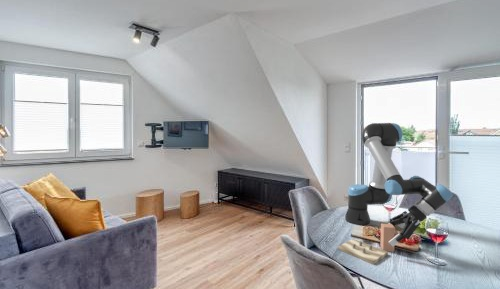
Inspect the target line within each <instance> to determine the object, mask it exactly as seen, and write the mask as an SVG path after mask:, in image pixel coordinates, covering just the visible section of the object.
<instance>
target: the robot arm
mask: <svg viewBox="0 0 500 289" xmlns="http://www.w3.org/2000/svg"><path fill="white" fill-rule="evenodd" d="M403 134H404V133H403V130H402V128H401V126H400V125H399V124H397V123H394V122H379V123H378V122H377V123H375V122H372V123H370V124H368V125H366V126H365V127H364V128H363V130H362V132H361V139H362V140H361V141H362V144H363V145H364V147H365V148H368V151H369V153H370V155H371V156H372V157H373V160H374V168H373V176H372V179H371V181H369V183H368V185H367V184H363V183H362V184H360V183H358V184H352V185H350V186H349V187H348V191H347V195H348V198H347V199H348V200H347V201H348V204H347V205H348V206H347V207H348V208H347V210H346V213H345V218H344V219H345V221H346V222H347V223H350V224H353V225H361V226H363V225H364V224H366V225H369V224H371V218H370V214H369V210H368V206H371V205H386V204H385V203H387V202H389V201H390V202H391V201H392V198H393V196H402V195H403V196H405V195H419V196H421V198H420V199H419V200H417V201H416V202H415V203H414V205H411V206H410V207H408V210H407V211H406V210H405V211H403V212H402V213H399V214H398V215H395V216H394V217H392V218H389V222H388V224H392V225H393V226H394V227H395V228H396V226H397V225H401V224H404V226H403V228H402V230H401V231H400V232H398V234H395V237H394V238H393V239H391V240H390V241H389V243H390V244H391V245H392V246H393V247H394V248H395V246H396V245H397V244H399V243H400V242H401V241H403V240H404V239H405V240H409V239H410V238H411V236H413V234H414V233H415V231H416V230H417V228H418V227H419V226H420V225H421V223H422V222H423V221H424V220H425V219H427V217H430V215H432V214H434V212H436V211H437V210H438V209H439V208H440V207H443V205H445V204H447V203H448V202H449V200H451V199H452V197H453V196H454V194H453V192H452V191H451V190H450V189H449V188H448V187H446V186H444V185H443V184H440V183H439V184H437V185H434V184H432V183H430V182H429V181H428V180H426V179H425V178H424V177H421V176H419V175H413V176H410V177H409V178H408V179H404V178H403V177H402V175H401V173H400V171H399V169H397V166H396V165H395V163H394V162H393V160H392V156H393V149H394V148H396V146H397V143H399V142H400V141H401V140H402V139H403ZM390 202H389V203H390ZM387 204H388V203H387ZM420 222H421V223H420ZM364 226H365V225H364ZM379 231H380V232H381V229H380V230H379Z"/></svg>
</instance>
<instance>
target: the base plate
mask: <svg viewBox="0 0 500 289" xmlns="http://www.w3.org/2000/svg"><path fill="white" fill-rule="evenodd" d="M337 250H338V251H340V252H344V253H346V254H347V255H350V256H352V257H354V258H357V259H359V260H362V261H364V262H367V263H369V264H371V265H375V264H377V263H378V262H380V260H383V259H384V258H386V257H387V256H388V255H389V251H385V250H383V249H382V248H379V247H376V246H373V245H371V244H368V243H366V242H363V241H362V240H358V239H355V238H352V239H350V240H348V241H346V242H344V243H342V244H340V245H338V246H337Z"/></svg>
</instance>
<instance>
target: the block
mask: <svg viewBox="0 0 500 289" xmlns="http://www.w3.org/2000/svg"><path fill="white" fill-rule="evenodd" d="M380 230H381V231H380V243H379V244H380V246H379V247H380V249H382V250H385V251H387V252H395V246H394V247H393V246H392V245H391V244H390V243H389V241H390V240H391V239H393V238H394V237H395V236H396V226H395V227H394V226H393V225H392V224H389V223H380Z"/></svg>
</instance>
